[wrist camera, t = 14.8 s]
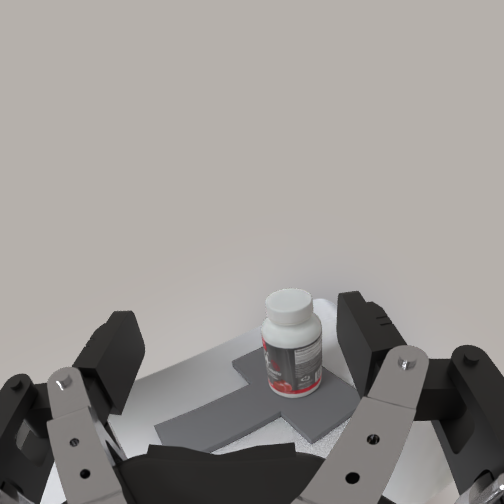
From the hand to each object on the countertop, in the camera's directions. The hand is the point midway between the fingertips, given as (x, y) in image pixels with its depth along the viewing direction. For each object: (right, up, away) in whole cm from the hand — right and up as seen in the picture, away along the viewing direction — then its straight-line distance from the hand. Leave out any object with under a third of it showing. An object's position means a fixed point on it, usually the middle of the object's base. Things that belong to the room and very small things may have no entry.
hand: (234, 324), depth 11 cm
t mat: (0, -13, +15) cm, 19 cm away
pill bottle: (+5, -10, +17) cm, 21 cm away
